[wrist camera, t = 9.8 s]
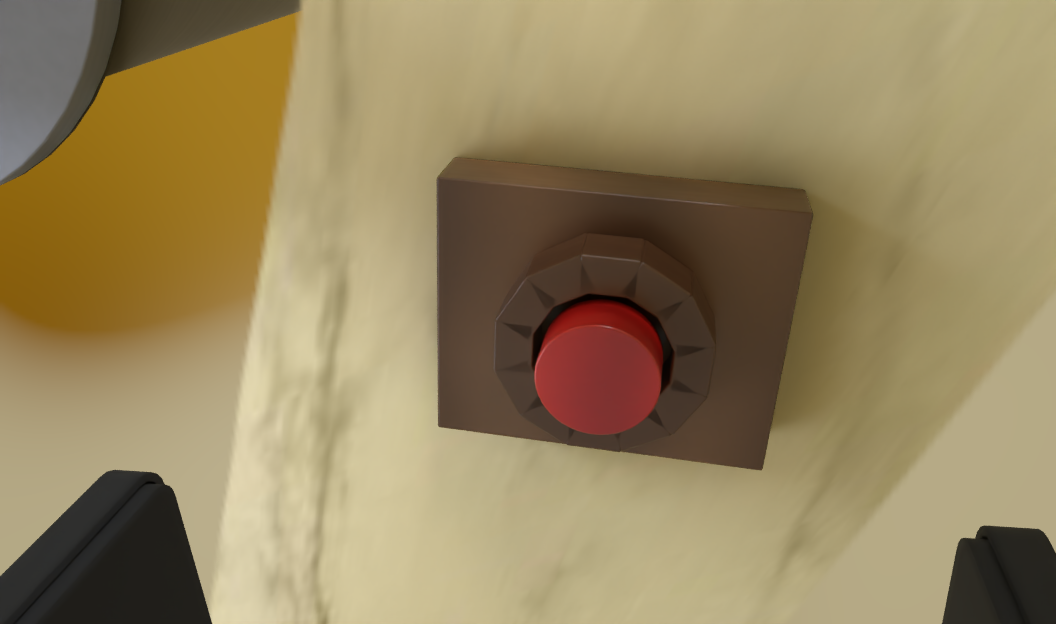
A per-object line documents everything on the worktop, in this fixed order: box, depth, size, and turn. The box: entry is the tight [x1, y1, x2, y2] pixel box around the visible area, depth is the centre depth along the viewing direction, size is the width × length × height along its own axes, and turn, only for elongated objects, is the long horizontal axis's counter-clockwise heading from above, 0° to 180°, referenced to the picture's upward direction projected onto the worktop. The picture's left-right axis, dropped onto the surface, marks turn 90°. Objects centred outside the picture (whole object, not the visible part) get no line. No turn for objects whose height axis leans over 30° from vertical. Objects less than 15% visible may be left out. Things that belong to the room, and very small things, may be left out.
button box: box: [437, 157, 813, 470], centre depth 28 cm, size 11×9×4 cm
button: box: [534, 299, 663, 435], centre depth 26 cm, size 4×4×2 cm
